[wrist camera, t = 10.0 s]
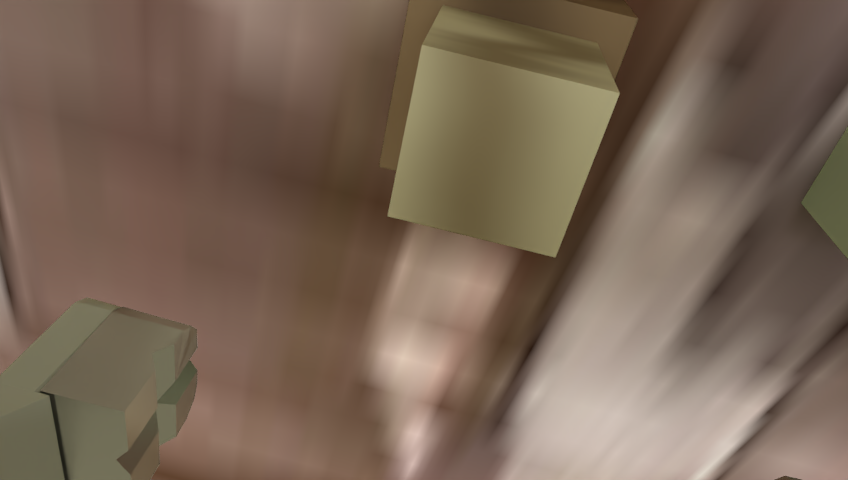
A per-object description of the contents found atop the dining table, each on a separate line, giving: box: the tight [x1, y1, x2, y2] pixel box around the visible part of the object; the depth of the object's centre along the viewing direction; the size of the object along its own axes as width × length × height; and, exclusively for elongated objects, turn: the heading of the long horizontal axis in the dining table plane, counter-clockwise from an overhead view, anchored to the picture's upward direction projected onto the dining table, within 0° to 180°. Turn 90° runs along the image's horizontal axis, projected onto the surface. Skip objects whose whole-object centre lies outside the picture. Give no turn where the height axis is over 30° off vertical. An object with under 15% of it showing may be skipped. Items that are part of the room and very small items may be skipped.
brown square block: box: [379, 0, 638, 171], centre depth 22 cm, size 7×7×4 cm
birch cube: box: [388, 5, 620, 258], centre depth 19 cm, size 5×5×5 cm
